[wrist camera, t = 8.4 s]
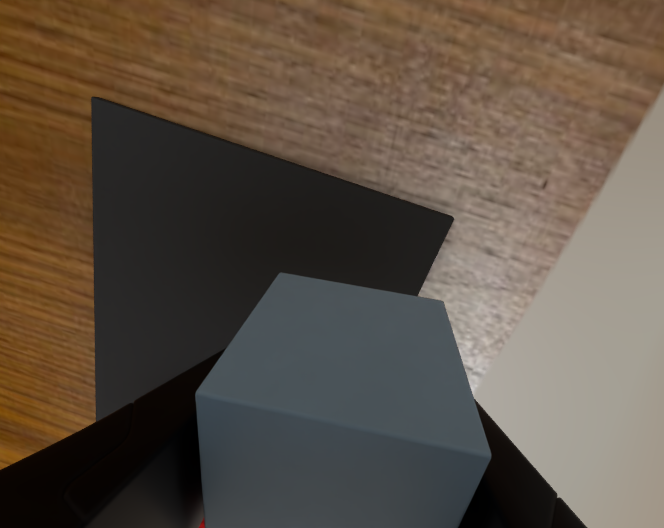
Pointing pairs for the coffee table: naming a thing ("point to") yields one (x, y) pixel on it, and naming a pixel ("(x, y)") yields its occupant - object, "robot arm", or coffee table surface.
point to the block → (339, 414)
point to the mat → (221, 243)
